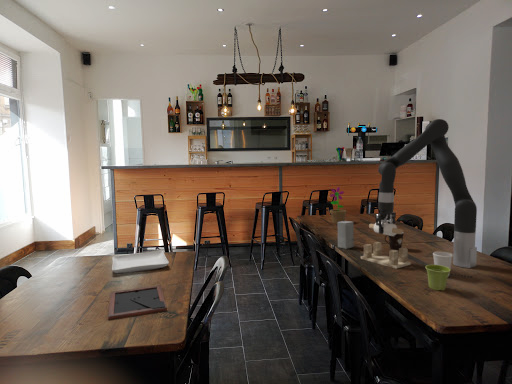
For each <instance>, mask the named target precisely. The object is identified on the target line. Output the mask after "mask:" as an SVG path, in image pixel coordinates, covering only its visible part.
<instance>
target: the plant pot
mask: <svg viewBox="0 0 512 384" xmlns="http://www.w3.org/2000/svg"><path fill="white" fill-rule="evenodd" d="M425 269H426V273H427V282H428V288H430V289H431V290H432V291H433V290H434V291H445V290H446V286H447V282H448V281H447V280H448V277H449V276H448V274H449V275H450V273H451V271H452V270H451V268H448V267H445V266H441V265H434V264H426V265H425ZM449 272H450V273H449Z"/></svg>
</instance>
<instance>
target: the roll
mask: <svg viewBox="0 0 512 384" xmlns="http://www.w3.org/2000/svg"><path fill="white" fill-rule="evenodd" d="M378 223H379V221H378ZM381 224H382V222H381ZM368 227H369V229H372V230H373V231H374V233H376V234H380V233H379V226H377V225H376V222H375V223H369V224H368ZM383 227H384V229H383V234H382V235H385V236H386V235H390V236H395V235H396V233H397V234H402V233H403V232H404V230H403V229H402V228H398V226H397V225H396V224H389V223H387V222H385V223H384V226H383Z"/></svg>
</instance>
